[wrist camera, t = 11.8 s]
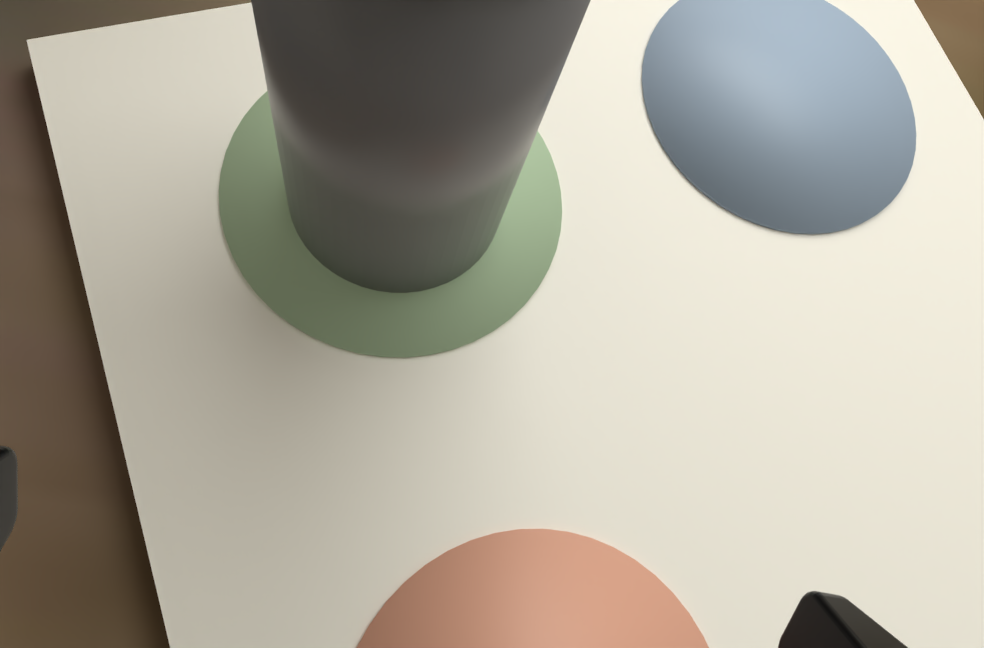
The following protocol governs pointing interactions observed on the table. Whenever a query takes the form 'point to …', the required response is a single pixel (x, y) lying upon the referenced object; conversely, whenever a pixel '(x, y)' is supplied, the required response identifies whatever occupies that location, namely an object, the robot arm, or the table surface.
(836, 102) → the white square board
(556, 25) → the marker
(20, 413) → the table surface
